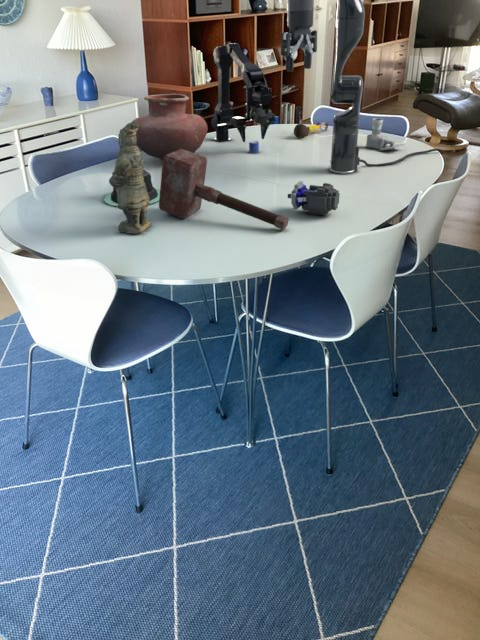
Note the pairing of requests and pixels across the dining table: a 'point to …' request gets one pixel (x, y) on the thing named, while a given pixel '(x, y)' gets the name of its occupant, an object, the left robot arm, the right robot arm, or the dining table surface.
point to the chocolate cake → (152, 192)
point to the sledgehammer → (200, 190)
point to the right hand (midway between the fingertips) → (298, 70)
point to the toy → (315, 198)
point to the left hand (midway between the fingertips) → (253, 140)
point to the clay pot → (169, 126)
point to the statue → (131, 182)
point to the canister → (253, 147)
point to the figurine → (307, 129)
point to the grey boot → (379, 137)
